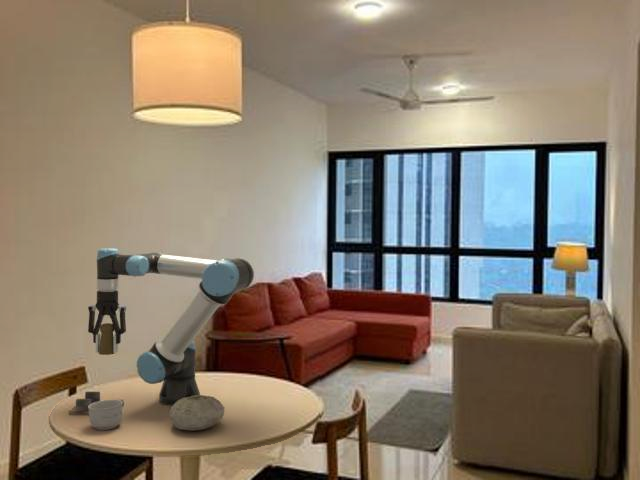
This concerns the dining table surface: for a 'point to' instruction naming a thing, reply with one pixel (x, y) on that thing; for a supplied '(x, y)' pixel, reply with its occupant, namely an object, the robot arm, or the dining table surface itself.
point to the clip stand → (85, 403)
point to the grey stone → (196, 412)
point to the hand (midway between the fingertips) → (106, 351)
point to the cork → (106, 339)
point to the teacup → (106, 413)
